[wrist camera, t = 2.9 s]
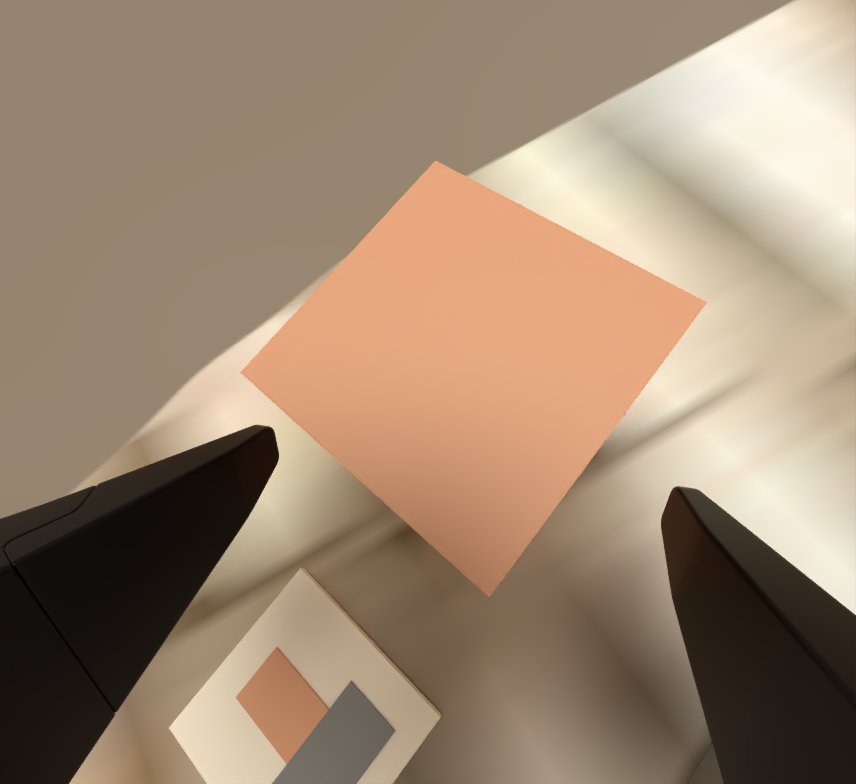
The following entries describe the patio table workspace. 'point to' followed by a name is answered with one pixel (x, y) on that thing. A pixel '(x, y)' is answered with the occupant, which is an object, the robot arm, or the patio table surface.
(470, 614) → the patio table surface
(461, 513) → the terracotta block
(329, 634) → the card
